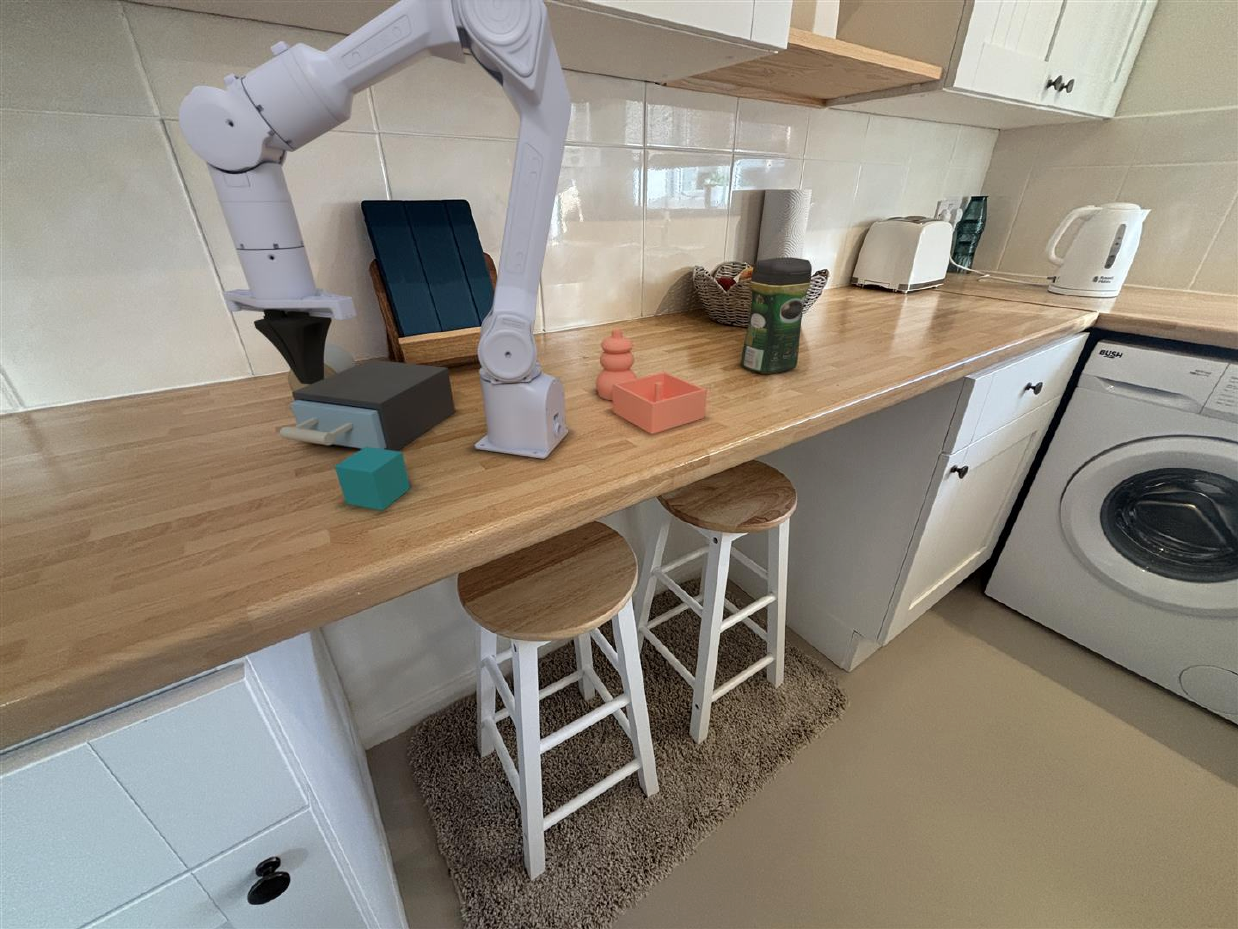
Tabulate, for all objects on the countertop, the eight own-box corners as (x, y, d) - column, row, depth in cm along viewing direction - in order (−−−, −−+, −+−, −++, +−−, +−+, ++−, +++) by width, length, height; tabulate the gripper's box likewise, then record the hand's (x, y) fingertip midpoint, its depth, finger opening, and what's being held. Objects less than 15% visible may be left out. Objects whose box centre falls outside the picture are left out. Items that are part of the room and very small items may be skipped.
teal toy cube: (410, 488, 53) (402, 451, 50) (382, 510, 49) (372, 472, 47) (375, 482, 54) (366, 446, 51) (346, 503, 50) (334, 466, 48)
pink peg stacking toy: (704, 417, 69) (711, 348, 65) (651, 434, 65) (654, 361, 60) (629, 382, 82) (630, 322, 77) (580, 393, 77) (578, 330, 73)
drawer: (352, 469, 54) (340, 430, 52) (270, 455, 57) (255, 417, 55) (441, 411, 68) (435, 378, 66) (372, 402, 71) (364, 370, 69)
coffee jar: (772, 358, 94) (789, 253, 85) (803, 370, 88) (824, 258, 79) (732, 365, 91) (745, 256, 82) (760, 378, 84) (778, 261, 75)
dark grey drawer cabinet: (392, 454, 59) (380, 403, 56) (308, 441, 62) (291, 391, 59) (455, 412, 71) (447, 367, 67) (381, 402, 74) (370, 359, 70)
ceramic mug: (292, 409, 71) (276, 357, 67) (311, 389, 78) (296, 341, 74) (372, 405, 73) (360, 354, 69) (382, 386, 80) (372, 339, 76)
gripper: (363, 245, 49) (392, 375, 56) (249, 241, 53) (290, 364, 59) (306, 253, 43) (346, 397, 50) (182, 247, 47) (236, 383, 53)
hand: (312, 381), depth 54 cm, fingers closed
